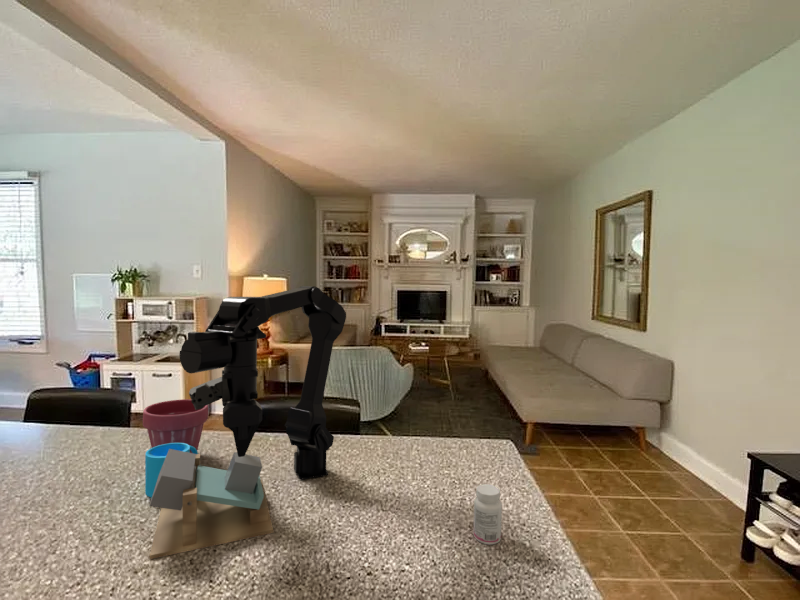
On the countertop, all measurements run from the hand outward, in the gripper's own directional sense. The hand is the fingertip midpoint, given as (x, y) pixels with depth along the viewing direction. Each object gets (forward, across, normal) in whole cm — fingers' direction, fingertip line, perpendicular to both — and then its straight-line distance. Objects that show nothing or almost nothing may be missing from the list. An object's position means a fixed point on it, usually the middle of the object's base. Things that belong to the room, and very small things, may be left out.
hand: (239, 447), depth 78 cm
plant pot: (+13, -32, -13) cm, 37 cm away
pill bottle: (+13, +24, +39) cm, 48 cm away
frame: (+12, 0, -4) cm, 13 cm away
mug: (+13, -17, -12) cm, 24 cm away
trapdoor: (+8, 0, -6) cm, 10 cm away
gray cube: (+7, 0, 0) cm, 7 cm away
